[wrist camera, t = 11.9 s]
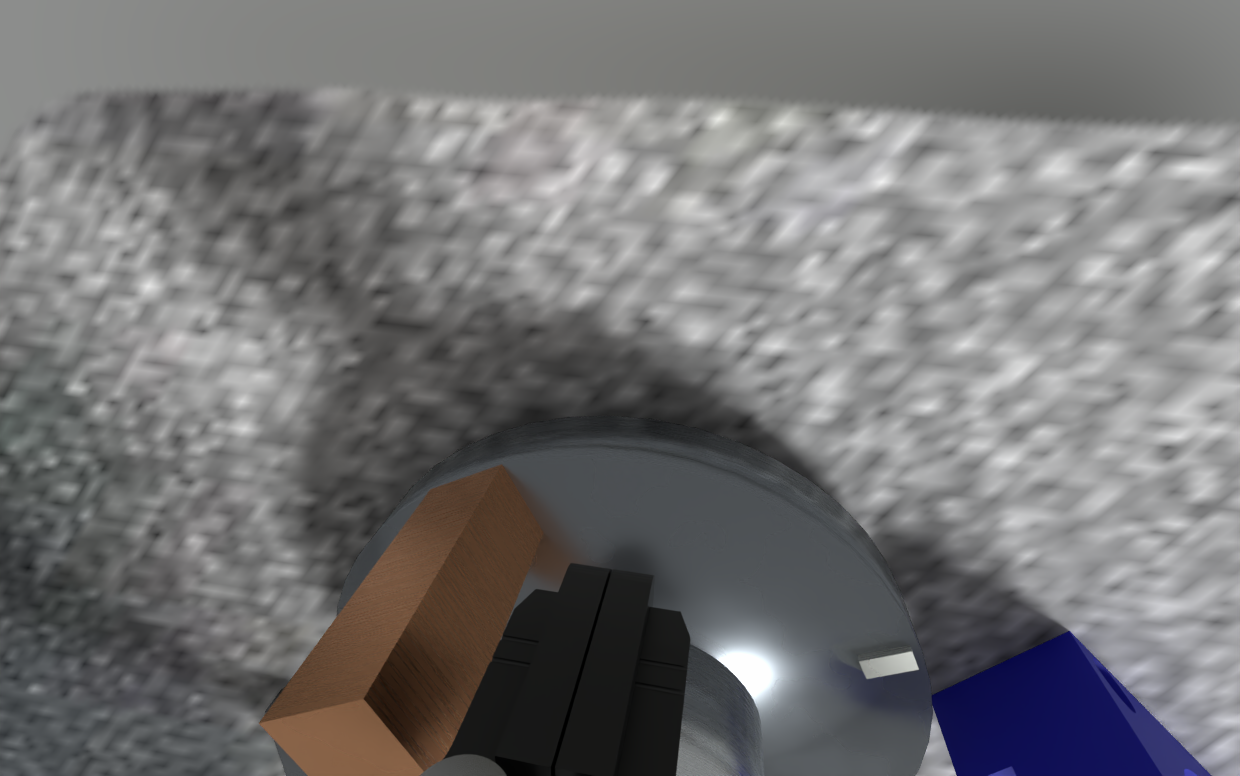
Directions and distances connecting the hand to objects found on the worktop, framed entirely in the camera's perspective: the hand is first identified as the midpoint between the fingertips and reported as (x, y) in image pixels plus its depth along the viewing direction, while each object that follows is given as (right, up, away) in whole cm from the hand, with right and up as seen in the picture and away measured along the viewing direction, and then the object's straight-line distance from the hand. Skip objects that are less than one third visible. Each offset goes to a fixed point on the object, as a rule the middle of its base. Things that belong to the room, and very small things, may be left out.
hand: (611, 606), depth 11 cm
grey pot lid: (0, -4, +8) cm, 9 cm away
